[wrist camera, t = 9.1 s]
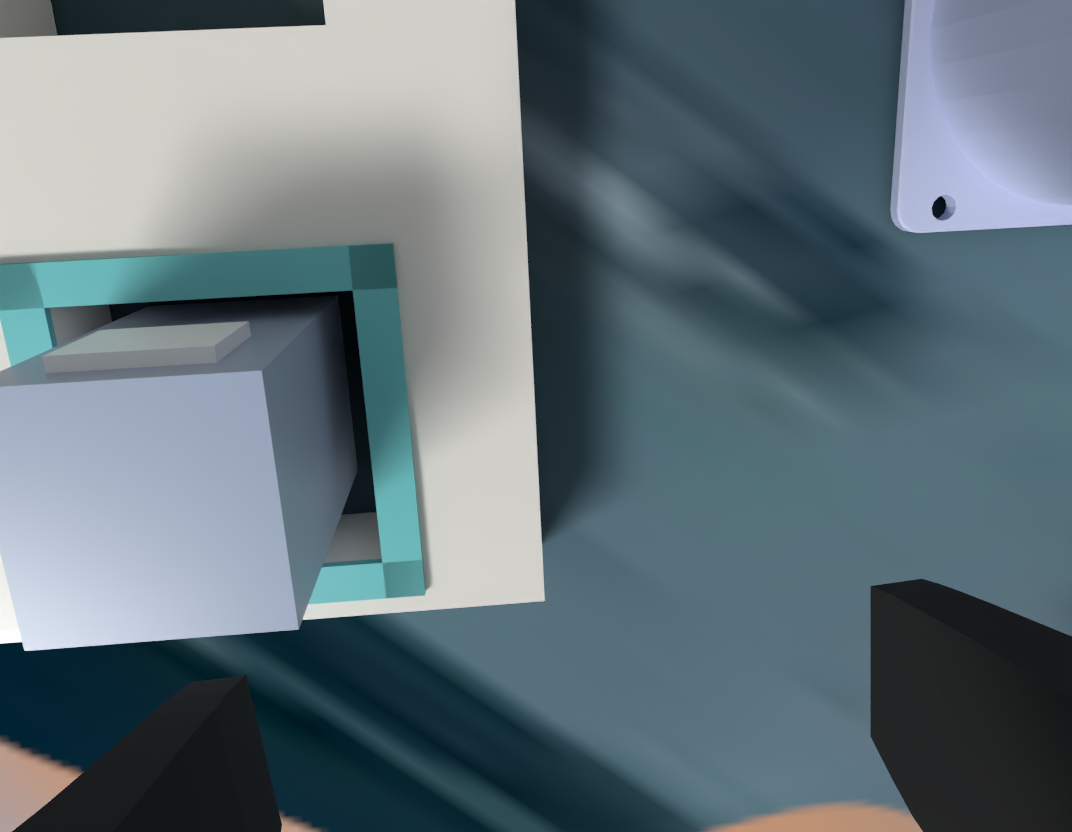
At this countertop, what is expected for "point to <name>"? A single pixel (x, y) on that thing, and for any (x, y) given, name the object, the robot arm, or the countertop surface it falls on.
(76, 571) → the plug
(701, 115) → the countertop surface
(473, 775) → the countertop surface
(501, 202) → the panel
